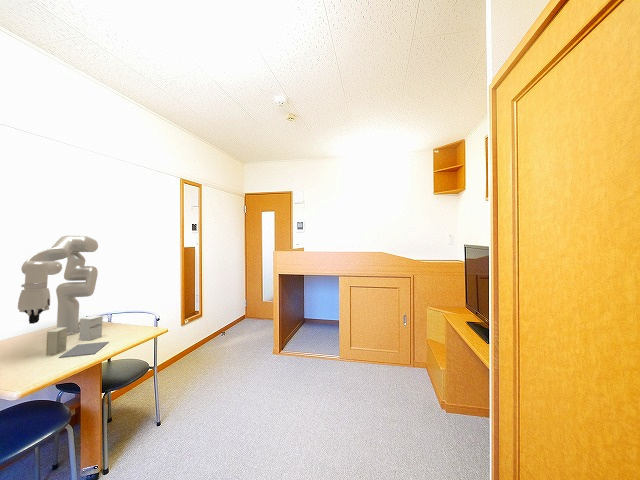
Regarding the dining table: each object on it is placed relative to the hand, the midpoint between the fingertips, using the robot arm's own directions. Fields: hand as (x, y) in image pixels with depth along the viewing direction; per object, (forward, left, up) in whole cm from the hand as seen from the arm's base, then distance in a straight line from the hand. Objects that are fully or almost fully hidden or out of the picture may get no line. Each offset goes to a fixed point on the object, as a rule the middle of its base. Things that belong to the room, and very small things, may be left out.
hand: (33, 322), depth 122 cm
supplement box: (-20, +15, -17) cm, 30 cm away
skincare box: (-1, +9, -17) cm, 19 cm away
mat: (-1, +21, -16) cm, 27 cm away
